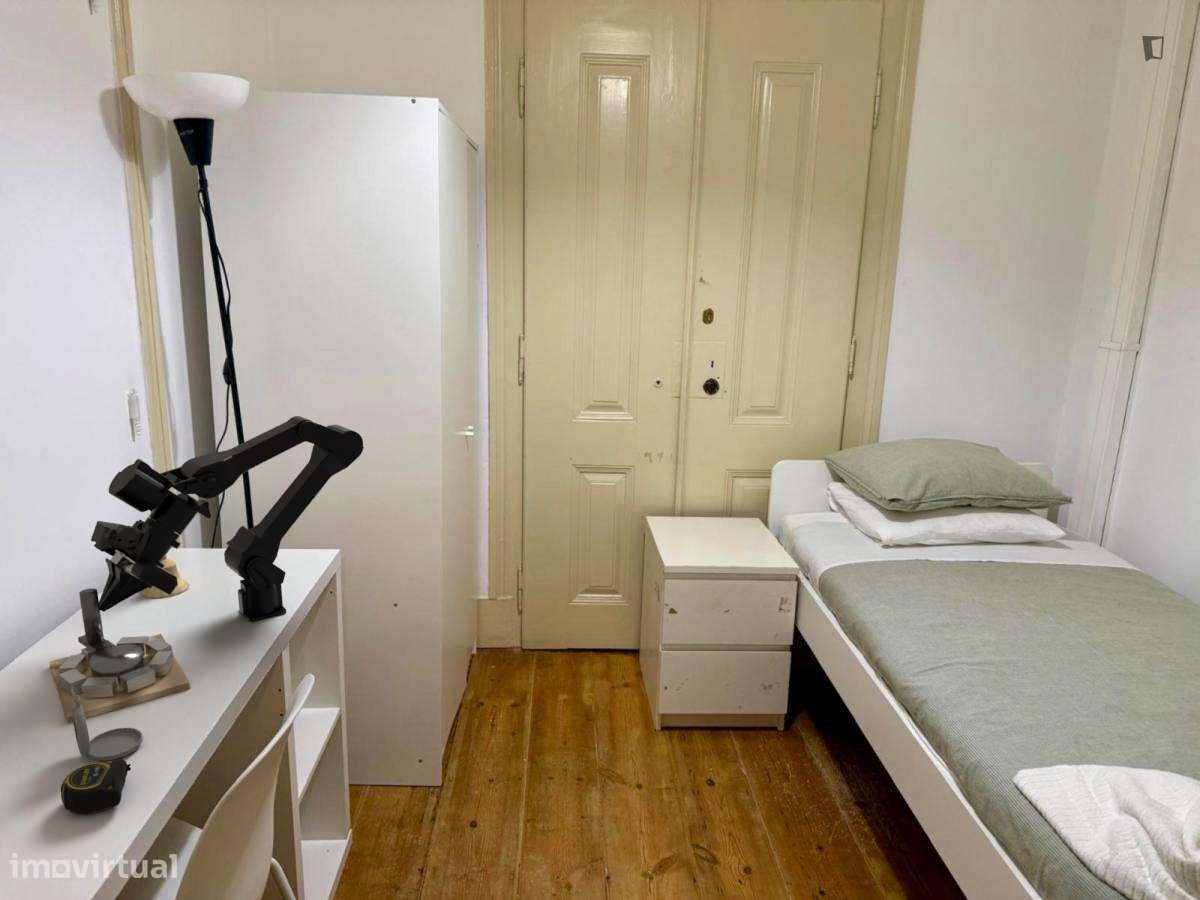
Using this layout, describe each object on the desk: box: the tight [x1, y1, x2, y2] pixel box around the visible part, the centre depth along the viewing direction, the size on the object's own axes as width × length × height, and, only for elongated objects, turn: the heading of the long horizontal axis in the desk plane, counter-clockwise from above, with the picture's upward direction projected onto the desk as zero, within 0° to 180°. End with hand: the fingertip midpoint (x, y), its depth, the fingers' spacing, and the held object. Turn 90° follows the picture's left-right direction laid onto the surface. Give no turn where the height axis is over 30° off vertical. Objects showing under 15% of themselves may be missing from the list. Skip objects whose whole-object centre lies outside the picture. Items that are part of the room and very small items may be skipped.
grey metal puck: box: [90, 644, 144, 684], centre depth 131 cm, size 7×7×3 cm
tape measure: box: [60, 758, 132, 815], centre depth 104 cm, size 7×7×4 cm
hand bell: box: [140, 511, 190, 599], centre depth 160 cm, size 8×8×16 cm
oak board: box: [49, 633, 191, 724], centre depth 132 cm, size 16×19×1 cm
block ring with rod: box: [59, 587, 174, 698], centre depth 130 cm, size 15×18×11 cm
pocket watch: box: [71, 689, 143, 762], centre depth 113 cm, size 8×8×10 cm
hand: (100, 609), depth 134 cm, fingers closed, pressing on block ring with rod
